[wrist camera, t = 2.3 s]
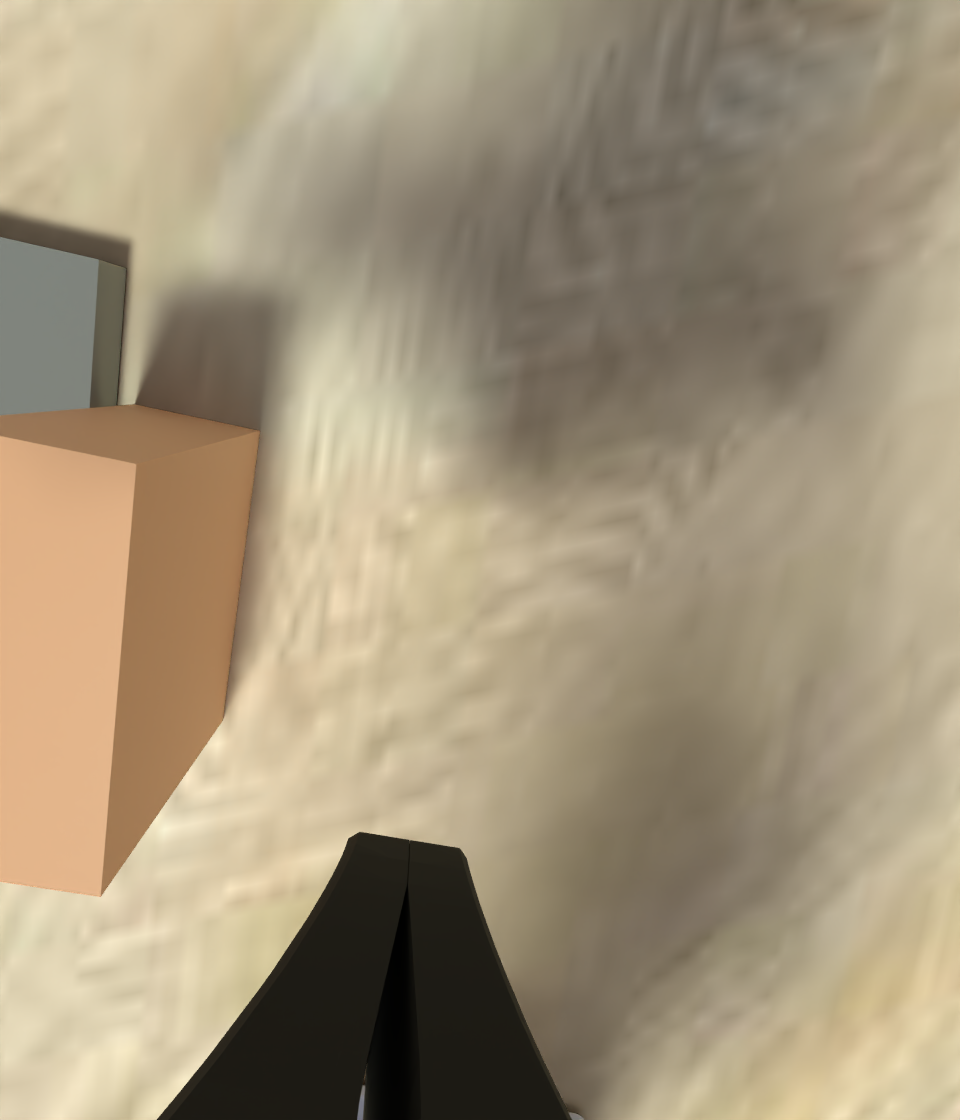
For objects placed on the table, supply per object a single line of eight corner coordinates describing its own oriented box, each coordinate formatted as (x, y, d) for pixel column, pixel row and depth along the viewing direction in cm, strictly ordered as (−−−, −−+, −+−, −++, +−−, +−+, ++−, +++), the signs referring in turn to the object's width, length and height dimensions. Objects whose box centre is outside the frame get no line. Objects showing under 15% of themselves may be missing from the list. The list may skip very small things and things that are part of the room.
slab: (261, 430, 16) (135, 463, 10) (223, 719, 18) (100, 897, 12) (136, 404, 16) (-72, 421, 10) (112, 699, 18) (-72, 870, 12)
